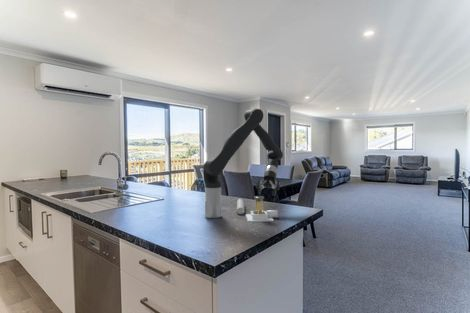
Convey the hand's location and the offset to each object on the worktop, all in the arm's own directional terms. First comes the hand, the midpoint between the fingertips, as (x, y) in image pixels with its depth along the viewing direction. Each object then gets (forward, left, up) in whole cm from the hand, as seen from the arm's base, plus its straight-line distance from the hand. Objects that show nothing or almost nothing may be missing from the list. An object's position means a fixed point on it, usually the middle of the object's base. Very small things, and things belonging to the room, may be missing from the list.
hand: (265, 194), depth 157 cm
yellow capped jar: (-5, -8, -11) cm, 15 cm away
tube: (-15, +12, -12) cm, 22 cm away
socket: (-4, -9, -12) cm, 15 cm away
